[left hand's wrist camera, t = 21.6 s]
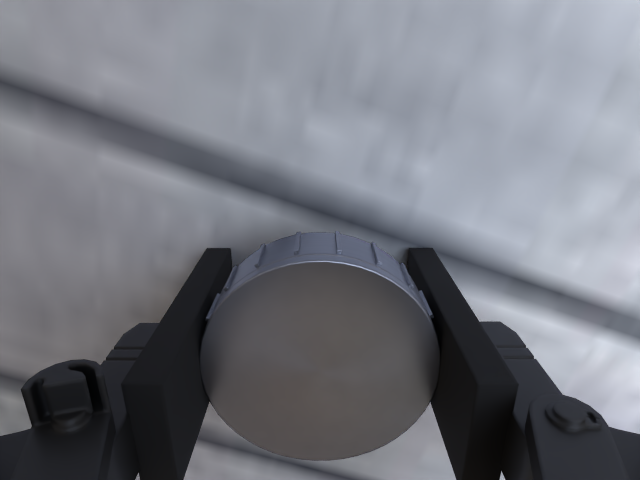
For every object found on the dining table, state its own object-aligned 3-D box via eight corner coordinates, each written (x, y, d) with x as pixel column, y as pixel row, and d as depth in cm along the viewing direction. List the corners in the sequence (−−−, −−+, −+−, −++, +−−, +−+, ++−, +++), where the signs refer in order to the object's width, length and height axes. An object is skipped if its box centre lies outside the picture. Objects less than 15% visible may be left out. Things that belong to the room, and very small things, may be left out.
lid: (450, 381, 13) (469, 429, 11) (262, 435, 14) (254, 486, 12) (392, 197, 11) (406, 221, 9) (176, 272, 12) (151, 306, 10)
